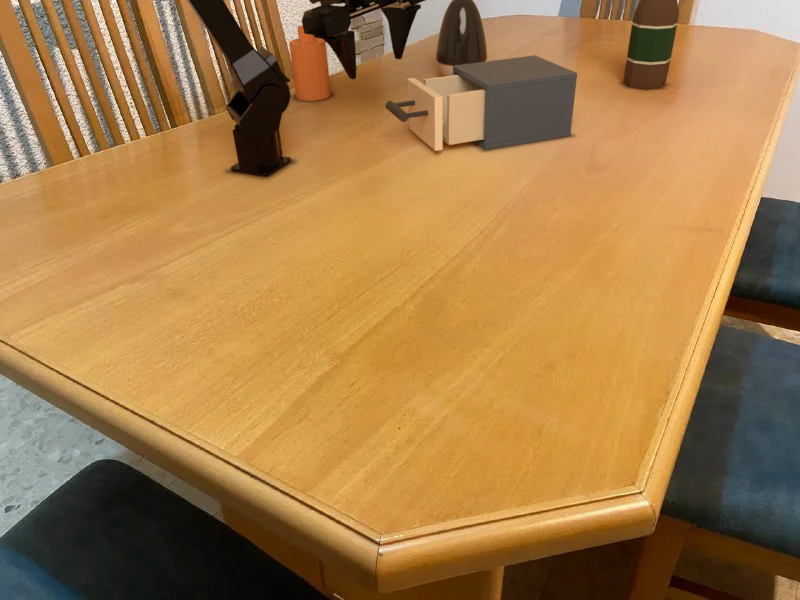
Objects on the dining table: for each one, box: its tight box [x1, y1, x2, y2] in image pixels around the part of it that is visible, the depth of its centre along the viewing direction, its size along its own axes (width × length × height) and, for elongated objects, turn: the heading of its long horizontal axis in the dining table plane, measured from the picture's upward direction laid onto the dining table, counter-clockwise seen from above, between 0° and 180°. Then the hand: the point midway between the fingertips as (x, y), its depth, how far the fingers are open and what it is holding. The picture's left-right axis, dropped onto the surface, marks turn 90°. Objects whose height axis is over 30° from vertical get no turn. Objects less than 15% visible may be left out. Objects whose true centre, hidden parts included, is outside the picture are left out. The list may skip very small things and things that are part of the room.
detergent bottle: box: [288, 25, 331, 102], centre depth 120 cm, size 7×7×12 cm
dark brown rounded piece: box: [435, 0, 488, 76], centre depth 126 cm, size 10×10×15 cm
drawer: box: [385, 74, 486, 152], centre depth 97 cm, size 18×11×8 cm, turn 109°
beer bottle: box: [623, 0, 680, 90], centre depth 115 cm, size 8×8×24 cm
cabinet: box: [453, 54, 578, 151], centre depth 100 cm, size 15×13×10 cm
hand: (376, 68), depth 94 cm, fingers open, 9 cm apart
